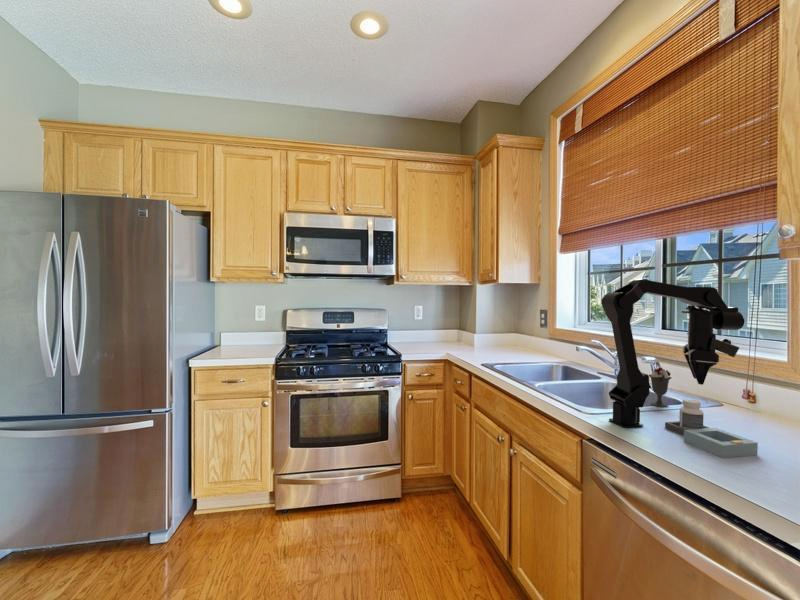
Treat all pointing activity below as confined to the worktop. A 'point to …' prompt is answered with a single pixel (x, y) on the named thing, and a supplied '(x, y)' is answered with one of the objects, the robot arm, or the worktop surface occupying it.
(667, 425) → the dark brown square tray
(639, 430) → the worktop surface
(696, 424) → the pill bottle
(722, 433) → the tray
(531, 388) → the worktop surface
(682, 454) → the worktop surface
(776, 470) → the worktop surface
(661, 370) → the sundae
